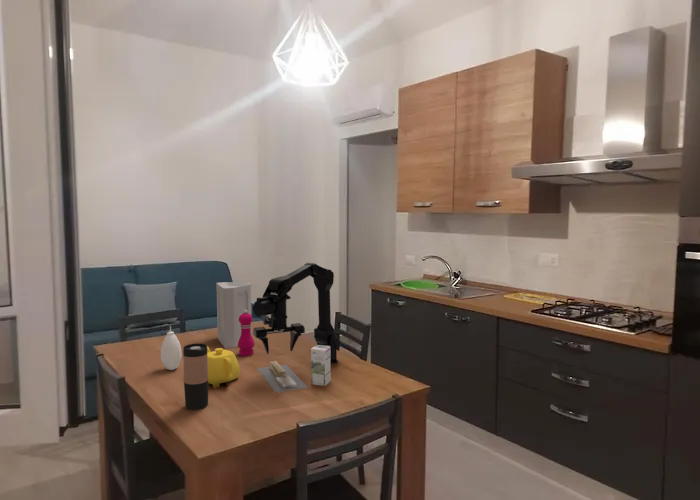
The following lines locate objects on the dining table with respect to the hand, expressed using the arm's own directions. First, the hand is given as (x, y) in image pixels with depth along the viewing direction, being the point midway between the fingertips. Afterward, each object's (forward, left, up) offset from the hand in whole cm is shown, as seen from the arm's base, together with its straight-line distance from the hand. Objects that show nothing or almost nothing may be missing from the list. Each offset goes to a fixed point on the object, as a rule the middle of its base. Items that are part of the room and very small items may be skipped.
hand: (279, 352), depth 188 cm
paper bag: (+5, -60, -10) cm, 61 cm away
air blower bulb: (+37, -28, -10) cm, 48 cm away
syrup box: (-12, +13, -10) cm, 21 cm away
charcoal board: (0, +2, -10) cm, 10 cm away
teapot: (+22, -7, -10) cm, 25 cm away
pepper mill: (+5, -37, -10) cm, 39 cm away
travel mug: (+32, +14, -10) cm, 37 cm away
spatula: (0, +2, -9) cm, 9 cm away
